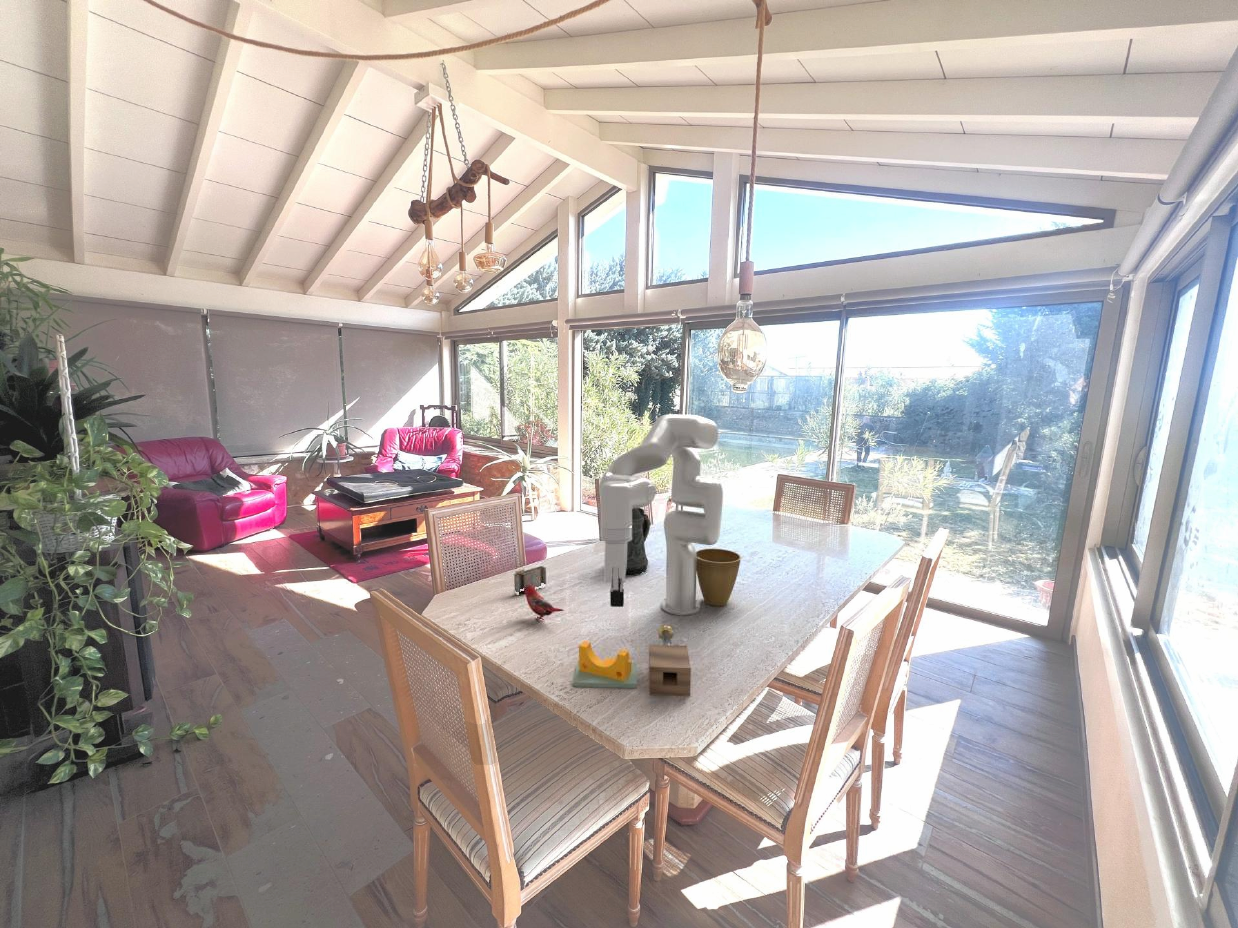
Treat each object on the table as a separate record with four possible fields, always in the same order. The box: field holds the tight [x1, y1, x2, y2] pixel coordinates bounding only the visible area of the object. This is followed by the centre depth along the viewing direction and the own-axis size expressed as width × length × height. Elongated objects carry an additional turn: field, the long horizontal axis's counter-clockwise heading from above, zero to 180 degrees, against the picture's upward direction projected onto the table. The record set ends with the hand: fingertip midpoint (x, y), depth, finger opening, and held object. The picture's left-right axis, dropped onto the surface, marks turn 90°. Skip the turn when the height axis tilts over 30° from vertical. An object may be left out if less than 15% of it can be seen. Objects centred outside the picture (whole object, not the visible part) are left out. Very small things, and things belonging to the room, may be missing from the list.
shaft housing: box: [648, 644, 692, 697], centre depth 116 cm, size 10×9×7 cm
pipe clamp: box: [578, 640, 633, 682], centre depth 119 cm, size 12×4×6 cm, turn 67°
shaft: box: [657, 624, 674, 645], centre depth 125 cm, size 15×4×4 cm, turn 177°
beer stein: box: [626, 507, 651, 576], centre depth 192 cm, size 16×19×25 cm
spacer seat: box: [572, 660, 638, 689], centre depth 119 cm, size 9×15×1 cm, turn 87°
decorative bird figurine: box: [524, 584, 565, 621], centre depth 147 cm, size 3×18×10 cm, turn 51°
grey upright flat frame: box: [513, 565, 547, 592], centre depth 170 cm, size 11×3×10 cm, turn 134°
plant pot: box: [695, 548, 742, 607], centre depth 161 cm, size 15×15×16 cm
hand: (617, 605), depth 120 cm, fingers closed
